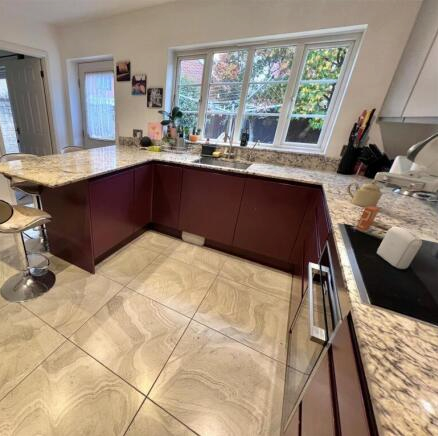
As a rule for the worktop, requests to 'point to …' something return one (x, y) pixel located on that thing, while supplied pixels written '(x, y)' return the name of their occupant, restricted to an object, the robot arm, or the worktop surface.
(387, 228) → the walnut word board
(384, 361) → the worktop surface
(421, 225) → the worktop surface
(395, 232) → the photo printer
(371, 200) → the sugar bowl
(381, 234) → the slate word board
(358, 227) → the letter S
